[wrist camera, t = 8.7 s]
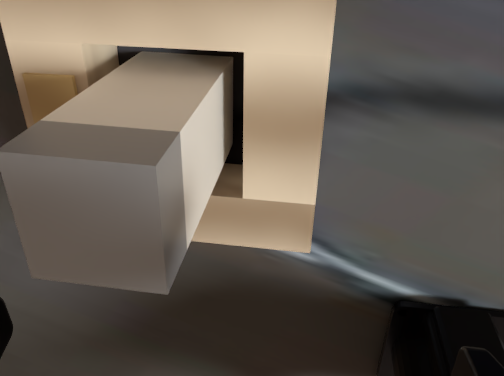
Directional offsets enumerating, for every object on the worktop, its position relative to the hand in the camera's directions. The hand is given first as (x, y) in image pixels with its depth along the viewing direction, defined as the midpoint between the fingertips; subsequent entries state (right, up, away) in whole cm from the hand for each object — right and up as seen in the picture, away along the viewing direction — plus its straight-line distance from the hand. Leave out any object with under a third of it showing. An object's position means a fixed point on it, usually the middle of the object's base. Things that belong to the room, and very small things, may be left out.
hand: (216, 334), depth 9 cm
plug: (-2, +7, +11) cm, 13 cm away
